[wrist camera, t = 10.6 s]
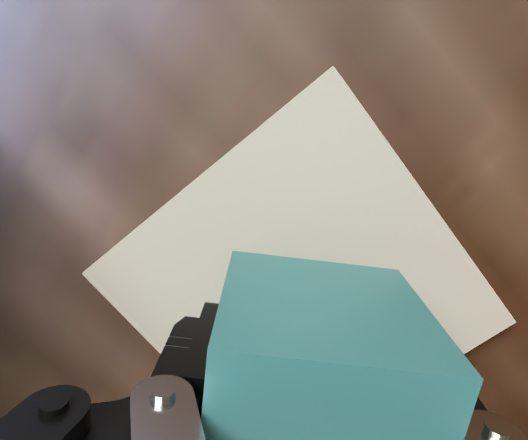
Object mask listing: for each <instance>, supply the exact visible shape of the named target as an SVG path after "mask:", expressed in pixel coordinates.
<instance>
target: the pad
mask: <svg viewBox="0 0 528 440" xmlns="http://www.w3.org/2000/svg"><path fill="white" fill-rule="evenodd" d="M232 251H240V252H249V253H257V254H266V255H275V256H283V257H292V258H301V259H309V260H318V261H327V262H336V263H344V264H353V265H362V266H370V267H379V268H388V269H396V270H399V271H400V273H401V274H402V275H403V277H404V278H405V279H406V281H407V282H408V283H409V284H410V286H411V287H412V288H413V290H414V291H415V292H416V293H417V295H418V296H419V297H420V299H421V300H422V301H423V302H424V304H425V305H426V306H427V308H428V309H429V310H430V311H431V313H432V314H433V315H434V317H435V318H436V319H437V320H438V322H439V323H440V324H441V326H442V327H443V328H444V329H445V331H446V332H447V333H448V335H449V336H450V337H451V338H452V340H453V341H454V342H455V344H456V345H457V346H458V347H459V349H460V350H461V351H462V353H463V354H465V353H467V352H468V351H470V350H472V349H473V348H475V347H477V346H478V345H480V344H482V343H483V342H485V341H487V340H488V339H490V338H491V337H493V336H495V335H496V334H498V333H500V332H501V331H503V330H505V329H506V328H508V327H509V326H511V325H513V324H514V323H516V321H515V320H514V318H513V317H512V315H511V314H510V313H509V311H508V310H507V308H506V307H505V306H504V304H503V303H502V301H501V300H500V299H499V297H498V296H497V294H496V293H495V292H494V290H493V289H492V287H491V286H490V285H489V283H488V282H487V280H486V279H485V278H484V276H483V275H482V273H481V272H480V271H479V269H478V268H477V266H476V265H475V264H474V262H473V261H472V259H471V258H470V256H469V255H468V254H467V252H466V251H465V249H464V248H463V247H462V245H461V244H460V242H459V241H458V240H457V238H456V237H455V235H454V234H453V233H452V231H451V230H450V228H449V227H448V226H447V224H446V223H445V221H444V220H443V219H442V217H441V216H440V214H439V213H438V212H437V210H436V209H435V207H434V206H433V205H432V203H431V202H430V200H429V199H428V198H427V196H426V195H425V193H424V192H423V191H422V189H421V188H420V186H419V185H418V184H417V182H416V181H415V179H414V178H413V177H412V175H411V174H410V172H409V171H408V170H407V168H406V167H405V165H404V164H403V163H402V161H401V160H400V158H399V157H398V156H397V154H396V153H395V151H394V150H393V149H392V147H391V146H390V144H389V143H388V142H387V140H386V139H385V137H384V136H383V135H382V133H381V132H380V130H379V129H378V127H377V126H376V125H375V123H374V122H373V120H372V119H371V118H370V116H369V115H368V113H367V112H366V111H365V109H364V108H363V106H362V105H361V104H360V102H359V101H358V99H357V98H356V97H355V95H354V94H353V92H352V91H351V90H350V88H349V87H348V85H347V84H346V83H345V81H344V80H343V78H342V77H341V76H340V74H339V73H338V71H337V70H336V69H335V67H334V66H332V67H331V68H330V69H328V70H327V71H326V72H325V73H324V74H322V75H321V76H320V77H319V78H317V79H316V80H315V81H314V82H313V83H311V84H310V85H309V86H308V87H307V88H305V89H304V90H303V91H302V92H300V93H299V94H298V95H297V96H296V97H294V98H293V99H292V100H291V101H290V102H288V103H287V104H286V105H285V106H284V107H282V108H281V109H280V110H279V111H277V112H276V113H275V114H274V115H273V116H271V117H270V118H269V119H268V120H267V121H265V122H264V123H263V124H262V125H260V126H259V127H258V128H257V129H256V130H254V131H253V132H252V133H251V134H250V135H248V136H247V137H246V138H245V139H244V140H242V141H241V142H240V143H239V144H237V145H236V146H235V147H234V148H233V149H231V150H230V151H229V152H228V153H227V154H225V155H224V156H223V157H222V158H220V159H219V160H218V161H217V162H216V163H214V164H213V165H212V166H211V167H210V168H208V169H207V170H206V171H205V172H204V173H202V174H201V175H200V176H199V177H197V178H196V179H195V180H194V181H193V182H191V183H190V184H189V185H188V186H187V187H185V188H184V189H183V190H182V191H180V192H179V193H178V194H177V195H176V196H174V197H173V198H172V199H171V200H170V201H168V202H167V203H166V204H165V205H164V206H162V207H161V208H160V209H159V210H157V211H156V212H155V213H154V214H153V215H151V216H150V217H149V218H148V219H147V220H145V221H144V222H143V223H142V224H140V225H139V226H138V227H137V228H136V229H134V230H133V231H132V232H131V233H130V234H128V235H127V236H126V237H125V238H124V239H122V240H121V241H120V242H119V243H117V244H116V245H115V246H114V247H113V248H111V249H110V250H109V251H108V252H107V253H105V254H104V255H103V256H102V257H100V258H99V259H98V260H97V261H96V262H94V263H93V264H92V265H91V266H90V267H89V268H87V269H86V270H85V271H84V272H83V273H82V274H83V276H84V277H85V278H86V279H87V280H88V281H89V282H90V283H91V284H92V285H93V286H94V287H95V288H96V289H97V290H98V291H99V292H100V293H101V294H102V295H103V296H104V297H105V298H106V299H107V300H108V301H109V302H110V303H111V304H112V305H113V306H114V307H115V308H116V309H117V310H118V311H119V312H120V313H121V314H122V315H123V316H124V317H125V318H126V319H127V320H128V321H129V322H130V323H131V325H132V326H133V327H134V328H135V329H136V330H137V331H138V332H139V333H140V334H141V335H142V336H143V337H144V338H145V339H146V340H147V341H148V342H149V343H150V344H151V345H152V346H153V347H154V348H155V349H156V350H157V351H158V352H159V353H160V354H161V353H162V351H163V348H164V346H165V344H166V342H167V340H168V337H169V335H170V333H171V331H172V329H173V326H174V324H176V323H177V322H178V321H180V320H181V319H182V318H184V317H185V316H188V317H197V318H200V315H201V312H202V309H203V306H204V303H205V302H209V303H218V304H219V302H220V298H221V294H222V290H223V286H224V282H225V278H226V274H227V270H228V266H229V262H230V258H231V255H232Z"/></svg>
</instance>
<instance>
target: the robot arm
mask: <svg viewBox="0 0 528 440" xmlns="http://www.w3.org/2000/svg"><path fill="white" fill-rule="evenodd" d="M218 305H219V304H218V303H209V302H205V303H204V306H203V309H202V312H201V315H200V318H197V317H188V316H185V317H184V318H182V319H181V320H180V321H178V322H177V323H176V324H174V326H173V329H172V331H171V333H170V335H169V337H168V340H167V342H166V344H165V346H164V348H163V351H162V353H161V355H160V357H159V359H158V362H157V364H156V366H155V368H154V370H153V373H152V375H151V377H149V378H147V379H145V380H143V381H141V382H140V383H138V384H137V385H136V386H135V387H134V389H133V390H132V392H131V395H130V396H129V397H127V398H124V399H120V400H116V401H110V402H102V403H94V404H91V400H90V396H89V395H88V393H87V392H86V391H85V390H83V389H82V388H79V387H77V386H72V385H58V386H52V387H48V388H45V389H42V390H40V391H37V392H35V393H34V394H32V395H30V396H29V397H27V398H26V399H25V400H24V401H22V402H21V403H20V404H19V405H17V406H16V407H15V408H14V409H12V410H11V411H10V412H9V413H7V414H6V415H5V416H4V417H3V418H1V419H0V440H206V439H205V435H204V431H203V427H202V423H201V414H202V403H203V392H204V381H205V370H206V359H207V349H208V345H209V341H210V337H211V333H212V329H213V325H214V321H215V317H216V313H217V309H218ZM464 440H528V437H527V436H526V435H525V434H524V432H523V431H522V430H521V429H520V428H518V427H517V426H516V425H515V424H513V423H512V422H510V421H509V420H507V419H505V418H504V417H502V416H500V415H497V414H495V413H492V412H489V411H487V410H486V408H485V407H484V405H483V404H482V402H481V401H480V400H479V398H477V401H476V404H475V407H474V411H473V414H472V417H471V420H470V423H469V426H468V429H467V433H466V436H465V437H464Z"/></svg>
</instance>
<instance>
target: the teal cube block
mask: <svg viewBox="0 0 528 440" xmlns="http://www.w3.org/2000/svg"><path fill="white" fill-rule="evenodd" d="M482 382H483V378H482V377H481V376H480V375H479V373H478V372H477V371H476V369H475V368H474V367H473V366H472V364H471V363H470V362H469V360H468V359H467V358H466V357H465V355H464V354H463V353H462V351H461V350H460V349H459V347H458V346H457V345H456V344H455V342H454V341H453V340H452V338H451V337H450V336H449V335H448V333H447V332H446V331H445V329H444V328H443V327H442V326H441V324H440V323H439V322H438V320H437V319H436V318H435V317H434V315H433V314H432V313H431V311H430V310H429V309H428V308H427V306H426V305H425V304H424V302H423V301H422V300H421V299H420V297H419V296H418V295H417V293H416V292H415V291H414V290H413V288H412V287H411V286H410V284H409V283H408V282H407V281H406V279H405V278H404V277H403V275H402V274H401V273H400V271H399V270H396V269H388V268H379V267H370V266H362V265H353V264H344V263H336V262H327V261H318V260H309V259H301V258H292V257H283V256H275V255H266V254H257V253H249V252H240V251H232V255H231V258H230V262H229V266H228V270H227V274H226V278H225V282H224V286H223V290H222V294H221V298H220V302H219V305H218V309H217V313H216V317H215V321H214V325H213V329H212V333H211V337H210V341H209V345H208V349H207V359H206V370H205V381H204V392H203V403H202V414H201V423H202V427H203V431H204V435H205V439H206V440H464V437H465V436H466V433H467V429H468V426H469V423H470V420H471V417H472V414H473V411H474V407H475V404H476V401H477V398H478V395H479V392H480V389H481V385H482Z"/></svg>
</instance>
